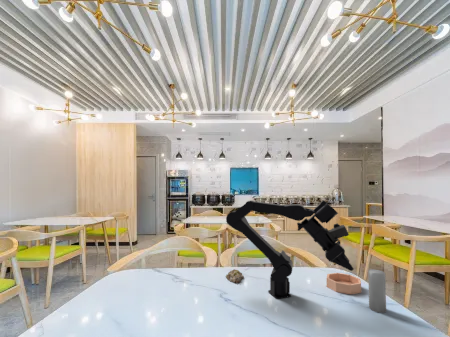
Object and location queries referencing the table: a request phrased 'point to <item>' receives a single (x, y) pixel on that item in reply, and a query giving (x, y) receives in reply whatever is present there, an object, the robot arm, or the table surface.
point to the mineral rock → (234, 276)
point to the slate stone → (377, 290)
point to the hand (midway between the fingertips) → (350, 265)
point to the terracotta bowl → (344, 283)
